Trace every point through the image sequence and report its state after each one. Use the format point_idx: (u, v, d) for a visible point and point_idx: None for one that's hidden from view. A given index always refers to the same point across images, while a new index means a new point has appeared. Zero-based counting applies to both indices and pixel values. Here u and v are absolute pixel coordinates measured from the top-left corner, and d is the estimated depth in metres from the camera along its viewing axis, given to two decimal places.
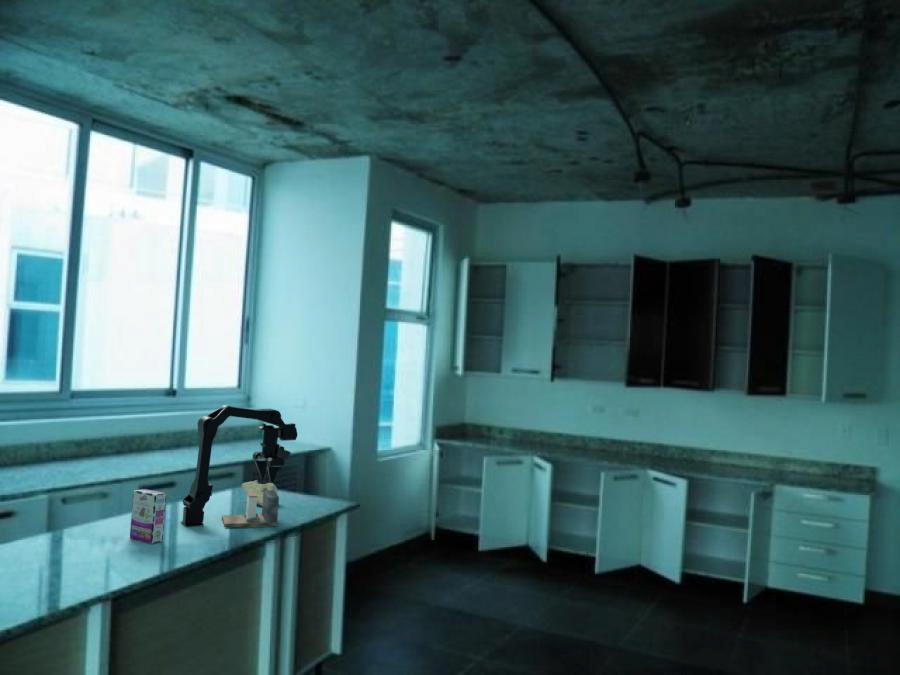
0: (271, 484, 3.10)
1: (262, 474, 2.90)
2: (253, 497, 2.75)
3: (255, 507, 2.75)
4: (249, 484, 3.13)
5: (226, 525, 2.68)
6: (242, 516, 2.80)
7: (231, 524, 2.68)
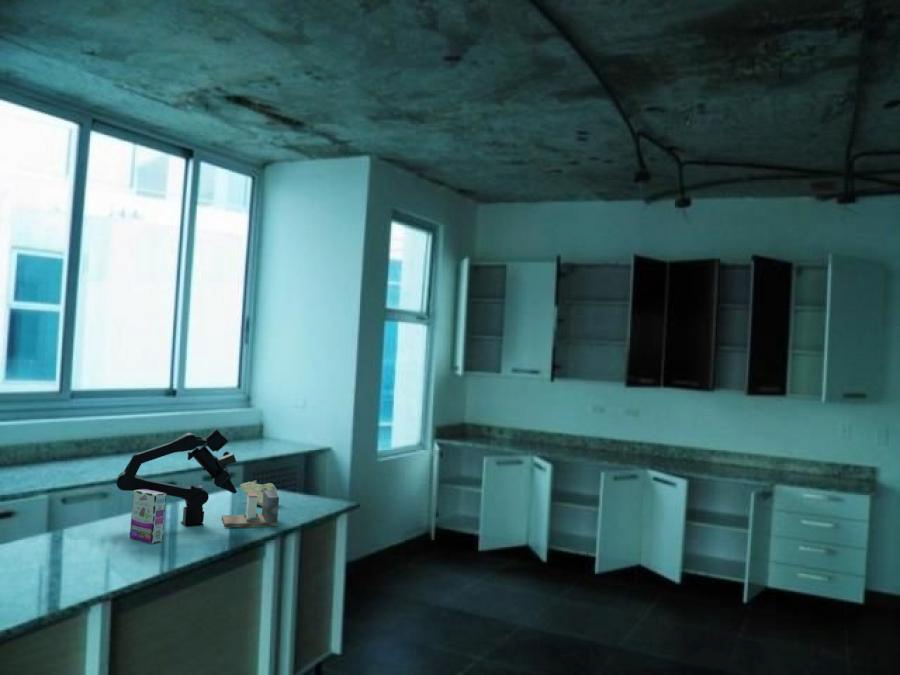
0: (270, 484, 3.10)
1: None
2: (253, 497, 2.75)
3: (255, 507, 2.75)
4: (248, 484, 3.12)
5: (226, 525, 2.68)
6: (242, 516, 2.80)
7: (231, 524, 2.68)
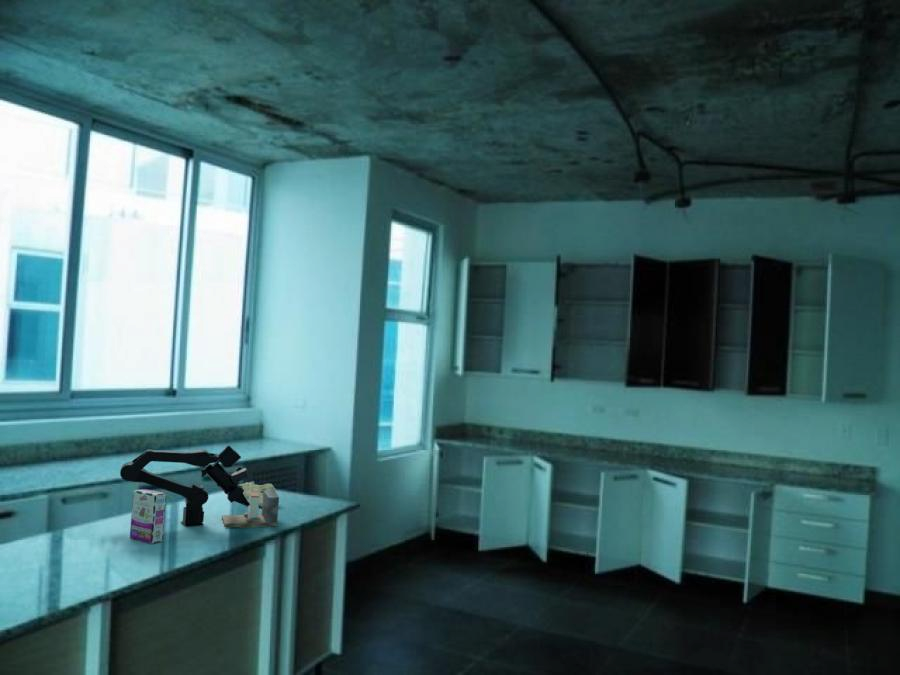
0: (269, 485, 3.09)
1: None
2: (255, 497, 2.75)
3: (257, 507, 2.75)
4: (246, 485, 3.10)
5: (226, 525, 2.68)
6: (242, 516, 2.80)
7: (231, 524, 2.68)
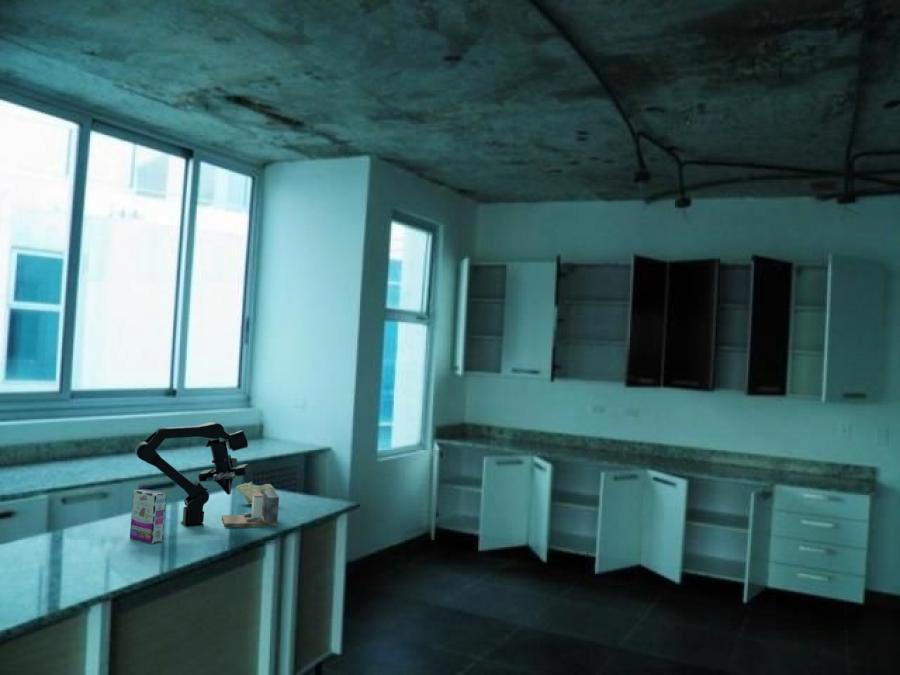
0: (269, 485, 3.08)
1: None
2: (258, 497, 2.75)
3: (260, 507, 2.76)
4: (244, 486, 3.08)
5: (226, 525, 2.68)
6: (242, 516, 2.80)
7: (231, 524, 2.68)
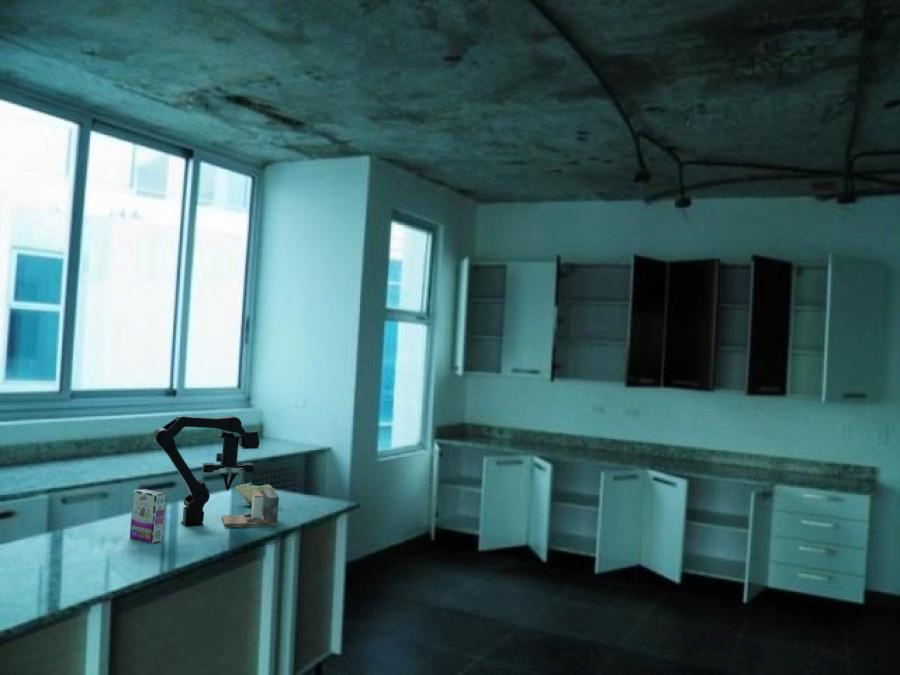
0: (268, 485, 3.07)
1: None
2: (258, 497, 2.75)
3: (260, 507, 2.76)
4: (243, 487, 3.06)
5: (226, 525, 2.68)
6: (242, 516, 2.80)
7: (231, 524, 2.68)
